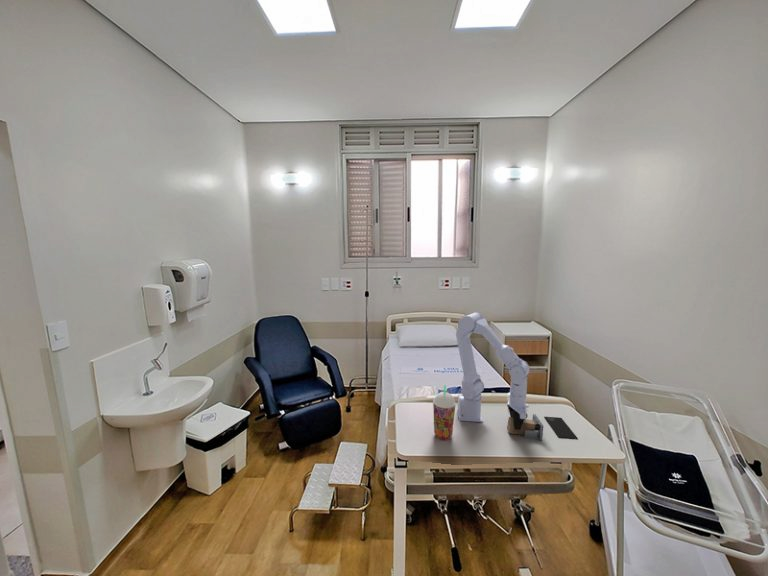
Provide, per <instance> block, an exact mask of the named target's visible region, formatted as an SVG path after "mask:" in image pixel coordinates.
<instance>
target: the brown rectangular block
mask: <svg viewBox="0 0 768 576" xmlns="http://www.w3.org/2000/svg"><path fill="white" fill-rule="evenodd" d="M507 420H508V421H507V426H506V429H507V431H508V433H509V434H514V435H521V436H524V430H535V423H534V421H533V419H528V418H526V419H525V420H524V422H523V424H522V427H521V429H520V430H516V429H514V423H513V417H510V416H508V419H507Z"/></svg>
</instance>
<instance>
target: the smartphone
mask: <svg viewBox="0 0 768 576" xmlns="http://www.w3.org/2000/svg"><path fill="white" fill-rule="evenodd" d="M543 418H544V420H545V421H546V423H547V424H548V426H549V427H550V428H551V429H552V431H553V433H554V434H555V436H557V438H558V439H565V440H566V439H567V440H568V439H569V440H579V438H578V437H577V435H576V434H575V432H574V431H573V430H572V429H571V428H570V427H569V425H568V424H567V423H566V421H565V420H564V419H563V418H562V417H558V416H555V417H554V416H544V417H543Z"/></svg>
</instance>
